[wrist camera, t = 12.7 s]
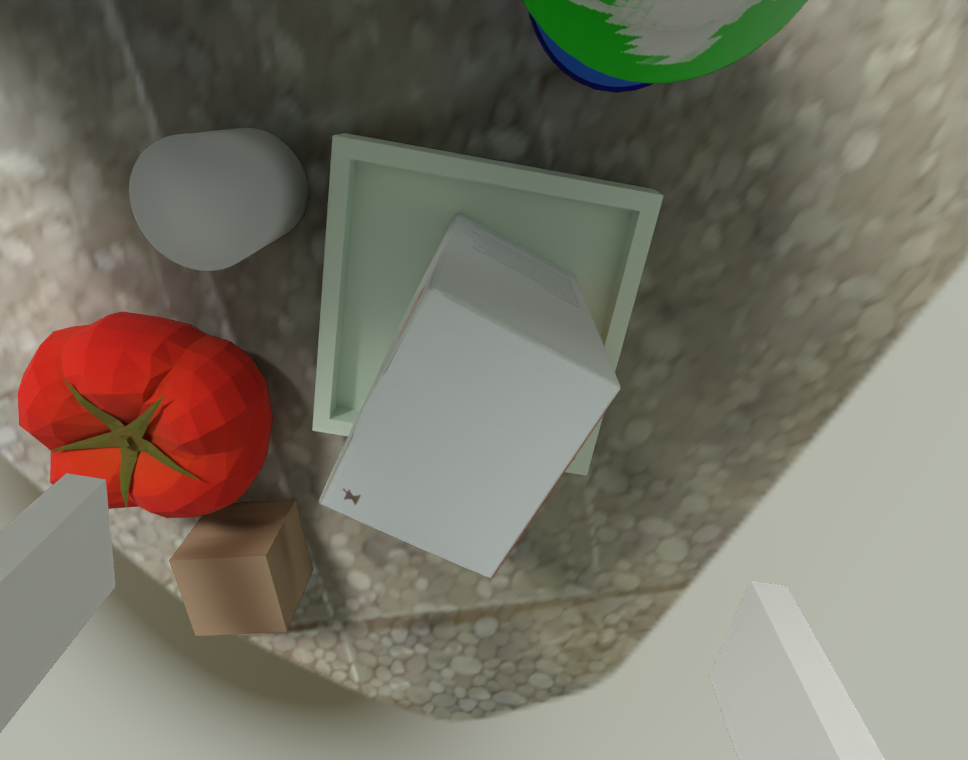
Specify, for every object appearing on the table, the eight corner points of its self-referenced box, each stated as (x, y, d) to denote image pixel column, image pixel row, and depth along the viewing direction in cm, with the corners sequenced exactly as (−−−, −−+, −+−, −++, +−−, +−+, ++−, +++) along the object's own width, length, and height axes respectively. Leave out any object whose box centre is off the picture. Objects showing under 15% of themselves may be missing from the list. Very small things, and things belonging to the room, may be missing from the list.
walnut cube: (232, 572, 39) (195, 636, 34) (211, 503, 37) (169, 560, 32) (313, 568, 39) (286, 631, 34) (296, 498, 37) (265, 555, 32)
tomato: (285, 480, 36) (241, 556, 30) (89, 452, 36) (4, 523, 30) (289, 316, 32) (239, 366, 26) (69, 283, 32) (-33, 326, 26)
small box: (497, 409, 33) (491, 587, 21) (384, 354, 32) (309, 507, 20) (579, 272, 30) (627, 387, 18) (458, 206, 29) (423, 282, 17)
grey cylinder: (200, 230, 30) (132, 258, 25) (199, 118, 28) (125, 122, 23) (304, 248, 31) (260, 281, 25) (311, 138, 29) (264, 147, 23)
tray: (323, 411, 34) (312, 430, 32) (344, 133, 28) (332, 135, 26) (582, 453, 35) (586, 475, 33) (652, 188, 29) (663, 195, 27)
